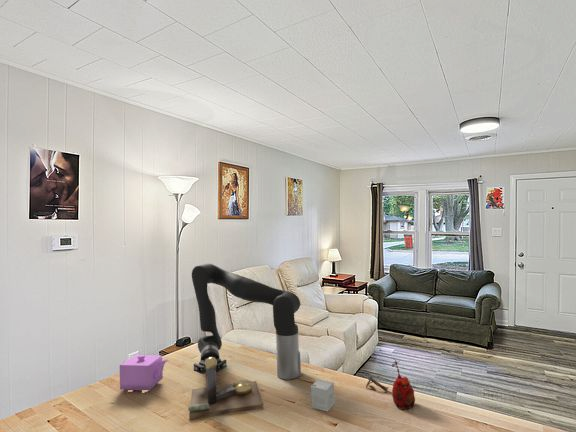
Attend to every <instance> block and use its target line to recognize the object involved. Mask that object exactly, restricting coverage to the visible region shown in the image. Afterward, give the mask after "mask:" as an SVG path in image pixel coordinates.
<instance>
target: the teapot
mask: <svg viewBox="0 0 576 432" xmlns="http://www.w3.org/2000/svg"><path fill="white" fill-rule="evenodd" d="M169 361H170V359H169V358H168V359H163V355H159V354H158V355H154V354H153V355H152V354H151V355H149V354H148V355H147V354H134V355H133V356H131V357H129V359H127V360H124V361H123V362H122V363H121V364H119V389H120V390H122V391H124V390H126V391H128V390H134V391H142V390H149V391H151V389H153V388H154V387H155V386H156V384H157V385H158V383H160V382H161V381H162V379H164V378H163V377H164V376H163V374H164V373H163V371H164V367H165V364H166V363H167V362H169Z"/></svg>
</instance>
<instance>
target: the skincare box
mask: <svg viewBox="0 0 576 432" xmlns="http://www.w3.org/2000/svg"><path fill="white" fill-rule="evenodd" d="M334 384H335V383H334V382H333V381H328V380H325V379H324V380H323V379H316V381H315V382H313V384H311V386H310V394H311V397H310V398H311V408H312V409H316V410H320V411H324V412H327V413H328V412H329V411H330V410H331V409H332V408H333V406H334V405H335V403H336V402H335V385H334Z"/></svg>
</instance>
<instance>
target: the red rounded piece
mask: <svg viewBox="0 0 576 432" xmlns="http://www.w3.org/2000/svg"><path fill="white" fill-rule="evenodd" d="M393 360H394V361H393V363H392V364H391V367H392V368H394V367H396V369H397V373H398V376H397V378H396V379H395V381H394V382H393V384H392V391H391V392H392V399H393V403H394V405H395V406H396V407H397V408H399V409H400V410H402V411H403V410H411V408H413V407H414V406H415V402H416V398H415V391H414V389H413V386H412V384H411V382H410V380H409V378H408V377H406V376H403V377H402V376H401V375H400V374H401V373H400V369H399V367H398V363H400V360H399V361H397V360H396V358H393Z"/></svg>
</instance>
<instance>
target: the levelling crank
mask: <svg viewBox="0 0 576 432" xmlns="http://www.w3.org/2000/svg"><path fill="white" fill-rule="evenodd" d="M216 365H217V360H216V359H215V358H214V357H209V358H207V360H206V361H205V366H206V368H207V376H206V387H207V398H208V404H210V405H211V404H215V403H216V402H217V401H219V400H221V399H224V398H226V397H229V396H232V395H234V394H235V395H239V396H242V395H247V394H249V393H250V392H251V391H252V383H251V382H252V381H251V380H248V379H239V380H236V381H234V382H233V383H231V384H232V387H231V388H228V389H226V390H223V391H220V392H217V393H216V386H217V372H216Z"/></svg>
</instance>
